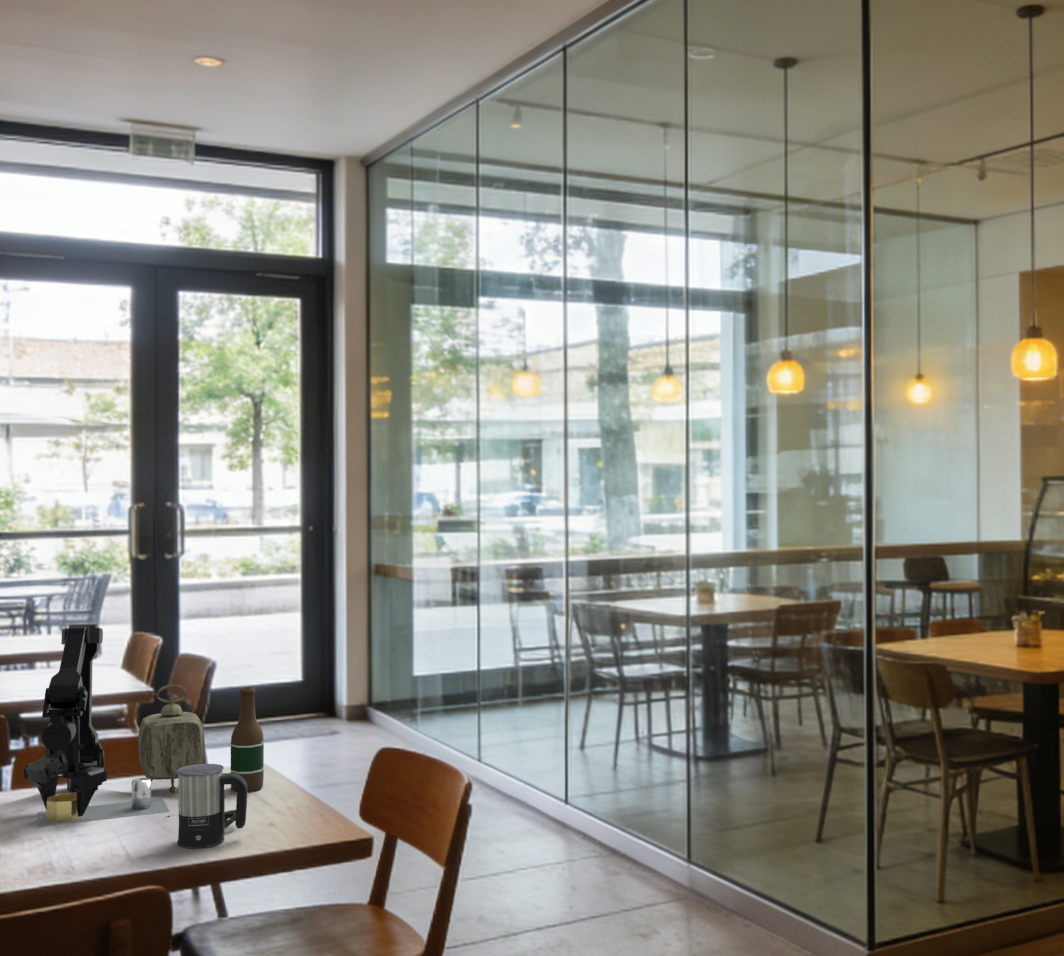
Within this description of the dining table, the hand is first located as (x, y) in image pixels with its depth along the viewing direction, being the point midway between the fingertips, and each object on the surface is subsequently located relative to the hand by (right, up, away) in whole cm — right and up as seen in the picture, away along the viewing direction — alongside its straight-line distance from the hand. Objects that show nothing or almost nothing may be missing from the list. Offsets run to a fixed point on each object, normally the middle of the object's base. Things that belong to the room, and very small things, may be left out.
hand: (64, 813), depth 240 cm
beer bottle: (+32, -2, +27) cm, 42 cm away
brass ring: (0, -1, 0) cm, 1 cm away
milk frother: (+34, -2, -10) cm, 35 cm away
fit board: (+7, -2, +3) cm, 8 cm away
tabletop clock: (+15, -2, +25) cm, 29 cm away
